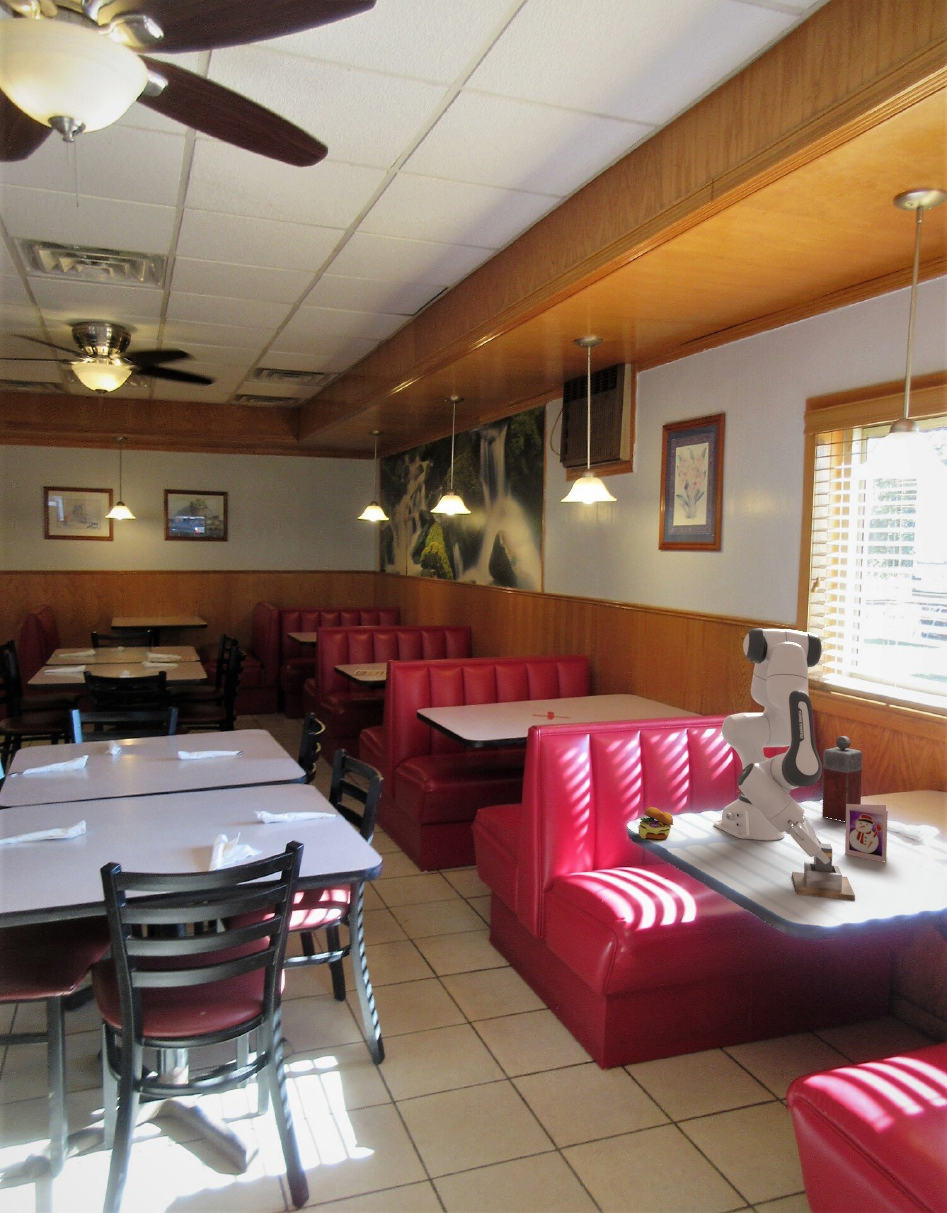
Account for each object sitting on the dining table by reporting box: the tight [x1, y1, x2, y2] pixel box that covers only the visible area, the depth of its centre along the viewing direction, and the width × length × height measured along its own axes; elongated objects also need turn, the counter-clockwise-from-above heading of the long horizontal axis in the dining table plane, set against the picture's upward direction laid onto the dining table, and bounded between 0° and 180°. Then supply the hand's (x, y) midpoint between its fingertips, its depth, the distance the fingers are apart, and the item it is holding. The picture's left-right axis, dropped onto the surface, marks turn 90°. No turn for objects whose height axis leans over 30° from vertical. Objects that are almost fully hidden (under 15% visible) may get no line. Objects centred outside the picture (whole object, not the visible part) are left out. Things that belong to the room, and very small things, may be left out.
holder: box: [791, 861, 856, 901], centre depth 231 cm, size 14×14×5 cm
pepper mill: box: [821, 735, 863, 822], centre depth 297 cm, size 9×11×28 cm
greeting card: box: [844, 803, 888, 863], centre depth 257 cm, size 11×7×15 cm, turn 51°
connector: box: [813, 842, 833, 873], centre depth 231 cm, size 4×4×10 cm
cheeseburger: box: [637, 806, 674, 840], centre depth 276 cm, size 10×11×10 cm
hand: (825, 855), depth 231 cm, fingers open, 8 cm apart
